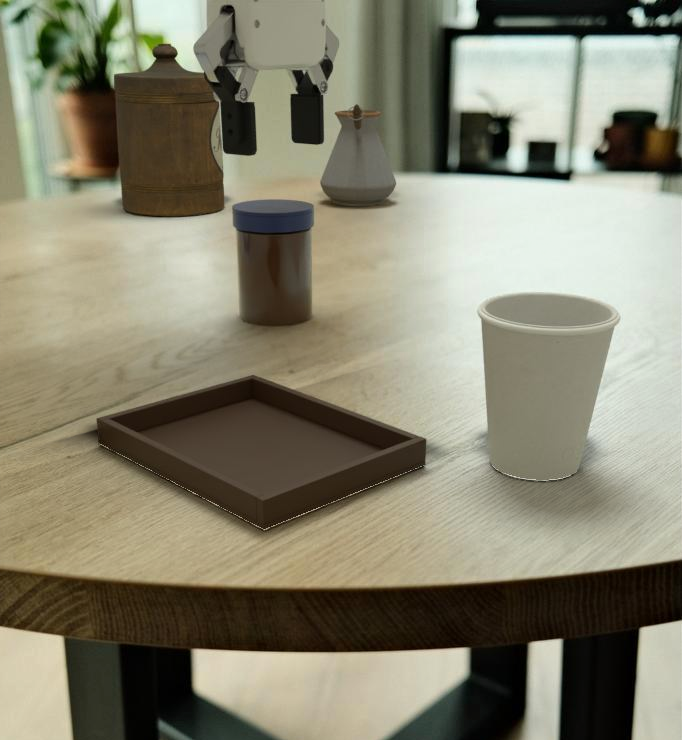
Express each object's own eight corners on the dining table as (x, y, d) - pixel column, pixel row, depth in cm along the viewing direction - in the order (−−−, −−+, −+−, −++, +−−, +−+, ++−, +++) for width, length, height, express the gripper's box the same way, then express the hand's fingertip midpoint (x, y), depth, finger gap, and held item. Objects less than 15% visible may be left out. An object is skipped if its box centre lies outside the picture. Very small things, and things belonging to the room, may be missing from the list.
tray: (98, 444, 67) (95, 418, 67) (254, 398, 76) (253, 374, 75) (264, 531, 56) (263, 500, 55) (425, 466, 64) (426, 438, 63)
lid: (215, 224, 89) (215, 205, 88) (277, 214, 93) (277, 196, 92) (268, 236, 84) (267, 216, 83) (330, 225, 88) (330, 206, 88)
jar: (225, 327, 93) (219, 210, 88) (280, 314, 97) (277, 201, 92) (271, 343, 88) (268, 220, 84) (327, 328, 92) (327, 211, 88)
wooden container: (244, 209, 148) (238, 43, 139) (154, 220, 140) (141, 45, 131) (191, 196, 159) (182, 41, 149) (105, 206, 151) (89, 43, 141)
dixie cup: (441, 459, 65) (448, 306, 61) (527, 429, 70) (540, 284, 66) (541, 503, 59) (557, 336, 55) (628, 467, 64) (650, 311, 60)
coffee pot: (322, 195, 160) (321, 93, 153) (395, 196, 159) (398, 93, 153) (313, 220, 141) (312, 104, 134) (396, 221, 140) (399, 104, 134)
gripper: (299, -82, 86) (304, 136, 94) (149, -96, 74) (169, 157, 82) (371, -87, 82) (370, 141, 90) (225, -103, 70) (239, 163, 77)
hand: (275, 147), depth 86 cm, fingers open, 8 cm apart
